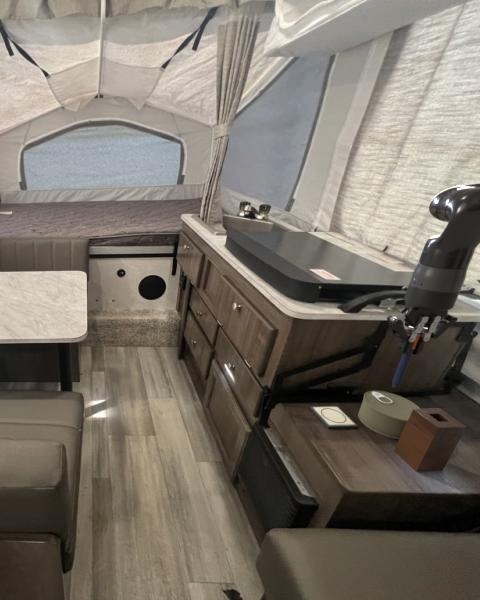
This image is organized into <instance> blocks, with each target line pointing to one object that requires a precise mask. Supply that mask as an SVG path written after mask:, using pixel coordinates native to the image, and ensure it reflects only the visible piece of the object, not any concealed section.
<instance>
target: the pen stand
mask: <svg viewBox="0 0 480 600" xmlns="http://www.w3.org/2000/svg"><path fill="white" fill-rule="evenodd" d="M466 429H467V426H466V425H465V424H463V423H462V422H460V421H459V420H457V419H456V418H454V417H453V416H451V414H448V413H447V412H446V411H444V410H442V409H441V408H440V407H428V408H427V407H425V408H421V407H420V409H413V410H412V413H411V415H410V417H409V419H408V421H407V423H406V426H405V428H404V430H403V432H402V434H401V436H400V439H399V440H398V441H397V443H396V445H395V447H394V450H393V452H394V453H395V454H396V455H398V457H400V458H401V460H402V461H404V462H405V463H406V464H407V465H408V466H410V468H412V470H413V471H415V472H417V473H418V472H419V473H420V472H443V470H444V468H445V467H446V465H447V463H448V462H449V460H450V458H451V456H452V454H453V453H454V451H455V449H456V447H457V445H458V443H459V442H460V440H461V438H462V437H463V434H464V433H465V432H466Z"/></svg>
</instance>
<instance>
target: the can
mask: <svg viewBox="0 0 480 600" xmlns="http://www.w3.org/2000/svg"><path fill="white" fill-rule="evenodd" d="M413 409H421V407H420V406H418V405H417V404H416V403H414V402H413V401H411V400H409V399H408V398H405V397H403V396H401V395H398V394H396V393H392V392H390V391H389V392H388V391H385V390H369V391H366V392H365V393H364V394H363V400H362V402H361V404H360V407H359V411H358V412H357V413H358V414H357V416H358V419H359V421H360V422H361V424H363V425H364V426H365V427H366V428H368V429H369V430H371V431H372V432H374V433H376V434H379V435H381V436H383V437H385V438H389V439H393V440H398V441H399V439H400V436H401V434H402V432H403V430H404V428H405V426H406V423H407V421H408V419H409V417H410V415H411V413H412V410H413Z"/></svg>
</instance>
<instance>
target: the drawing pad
mask: <svg viewBox="0 0 480 600" xmlns="http://www.w3.org/2000/svg"><path fill="white" fill-rule="evenodd" d="M309 409H310V410H311V411H312V413H313V414H314V415H315V416H316V417H317V418H318V419H319V420H320V421H321V423H322V424H323V425H324V426H325V428H327V429H357V428H358V427H359V425H358V424H357V423H356V422H355V421H354V420H353V419H352V418H351V417H349V415H347V413H346V412H344V411H343V409H341V408H340V407H339V406H338V405H326V406H325V405H323V406H309Z"/></svg>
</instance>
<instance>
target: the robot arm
mask: <svg viewBox="0 0 480 600" xmlns="http://www.w3.org/2000/svg"><path fill="white" fill-rule="evenodd" d="M428 211H429V213H430V215H431V216H432V217H433V218H434V219H436V220H438V221H441V222H444V223H447V224H446V226H445V228H444V229H443V231H442V233H441V234H436V235H433V236H430V237H429V238H428V239H426V241H425V243H424V245H423V248H422V250H421V254H420V257H419V260H418V261H417V265H416V266H415V268H414V270H413V272H412V274H411V277H410V280H409V283H408V286H407V288H406V292H405V294H404V297H403V300H404V304H405V305H404V307H403V308H402V309H401V311H400V313H399V314H396V315H395V316H394V315H388V316H387V317H386V320H387V323H388V326H389V328H390V332H391V333H392V335H393V336H394V337H396V338H398V339H400V340H399V343H398V345H397V349H396V350H397V351H398V352H399V354H401V355H410V352H411V350H412V347H413V345H414V342H413V341H415V339H416V336H417V334H419V335H420V337H419V340H418V342H417V345H416V347H415V349H414V352H413V354H412V355H414V356H417V355H420V354H421V353H422V352H423V349H424V347H425V345H426V342H428V341H430V339H434V340H437V339H438V338H439V337H441V336H442V335H443V334H444V333H445V332H446V331H447V330H448V329H449V328H451V327H452V326H453V325H454V324H455V323H456V322H457V321H458V320H459V319H458V317H456V316H455V315H451V314H449V311H450V310H452V309H454V307H455V305H456V302H457V299H458V298H459V295H460V292H461V290H462V288H463V286H464V283H465V280H466V278H467V273H468V269H469V267H470V264H471V261H472V260H473V257H474V254H475V252H476V249H477V247H478V246H479V245H480V183H468V184H461V185H456V186H451V187H449V188H446V189H443V190H442V191H440V192H439V193H437V194H436V195H435V196H433V198H432V199H431V200H430V202H429V204H428Z"/></svg>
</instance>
